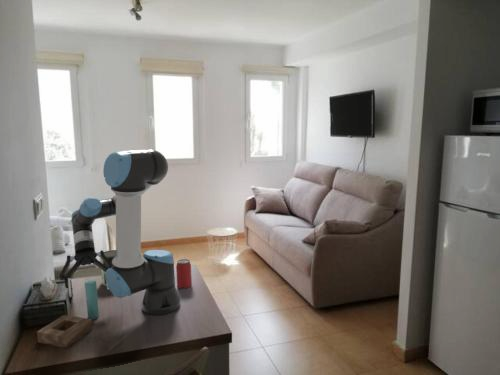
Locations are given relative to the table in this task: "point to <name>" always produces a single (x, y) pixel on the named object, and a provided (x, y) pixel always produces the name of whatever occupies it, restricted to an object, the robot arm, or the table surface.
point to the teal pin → (92, 299)
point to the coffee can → (110, 256)
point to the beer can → (183, 273)
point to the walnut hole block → (64, 331)
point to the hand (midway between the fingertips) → (89, 291)
